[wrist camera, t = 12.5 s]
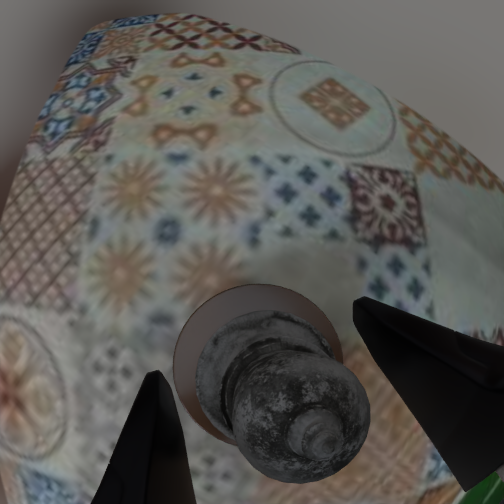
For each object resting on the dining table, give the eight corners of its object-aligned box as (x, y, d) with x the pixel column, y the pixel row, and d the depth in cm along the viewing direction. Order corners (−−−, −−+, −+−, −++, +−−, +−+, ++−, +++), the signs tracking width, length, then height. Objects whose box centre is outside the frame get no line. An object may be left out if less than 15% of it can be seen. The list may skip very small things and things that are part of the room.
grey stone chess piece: (286, 297, 16) (396, 195, 5) (335, 393, 15) (502, 457, 4) (184, 345, 15) (62, 350, 4) (235, 443, 14) (240, 609, 2)
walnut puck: (323, 292, 20) (340, 282, 17) (325, 426, 18) (342, 441, 14) (184, 292, 20) (173, 282, 16) (185, 430, 17) (175, 446, 14)
